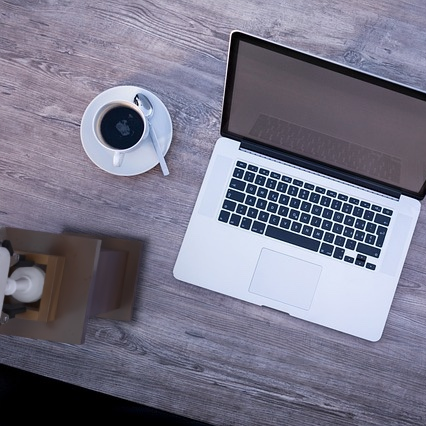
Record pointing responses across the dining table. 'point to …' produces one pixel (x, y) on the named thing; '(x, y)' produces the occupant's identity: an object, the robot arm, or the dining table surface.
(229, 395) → the dining table surface
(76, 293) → the socket stand
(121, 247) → the stand base
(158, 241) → the dining table surface
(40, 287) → the chess piece
